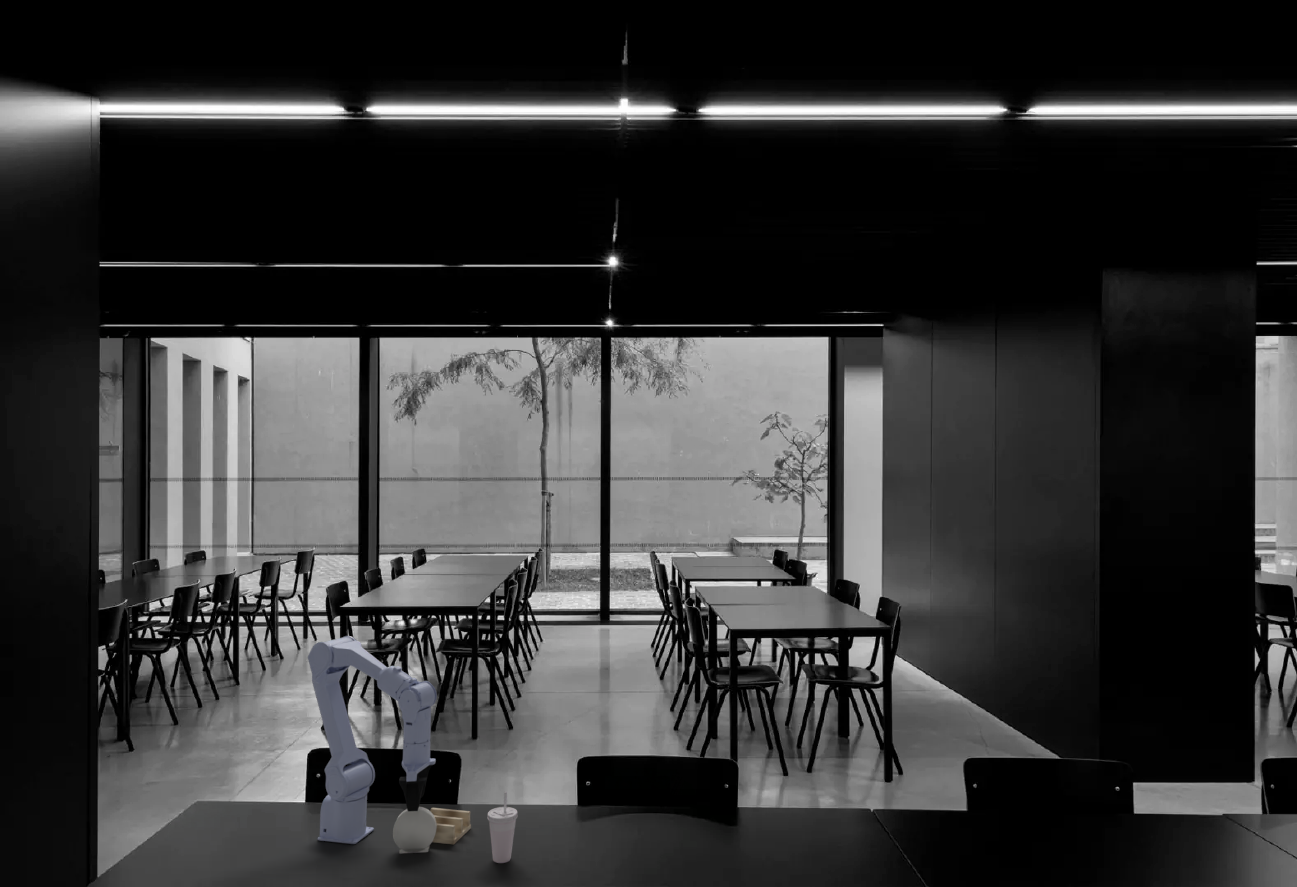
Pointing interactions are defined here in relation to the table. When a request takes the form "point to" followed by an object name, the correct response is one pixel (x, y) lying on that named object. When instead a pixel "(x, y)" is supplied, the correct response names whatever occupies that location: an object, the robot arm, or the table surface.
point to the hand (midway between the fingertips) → (415, 803)
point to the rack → (450, 825)
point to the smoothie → (502, 831)
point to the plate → (414, 830)
